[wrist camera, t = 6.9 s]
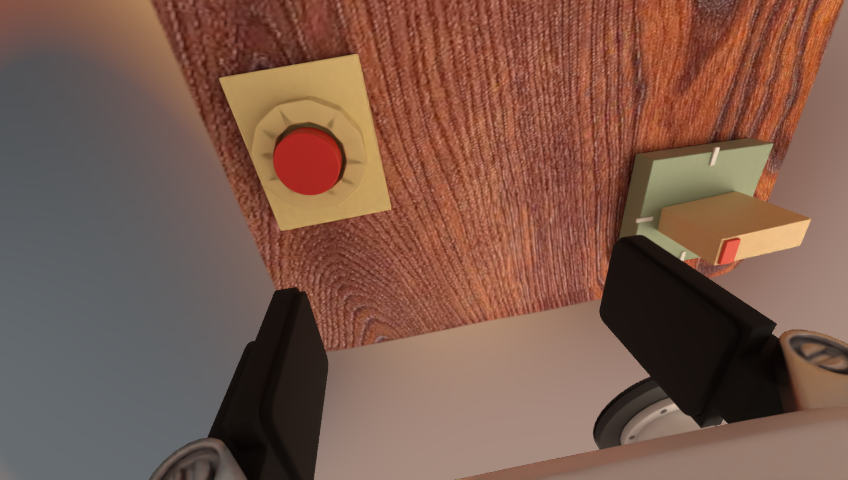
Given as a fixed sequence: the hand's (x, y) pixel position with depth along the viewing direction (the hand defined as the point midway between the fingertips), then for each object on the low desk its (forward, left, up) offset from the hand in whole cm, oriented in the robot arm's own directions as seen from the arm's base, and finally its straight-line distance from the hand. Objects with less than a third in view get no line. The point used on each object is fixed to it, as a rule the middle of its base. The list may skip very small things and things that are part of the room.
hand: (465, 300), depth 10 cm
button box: (-2, +6, -17) cm, 18 cm away
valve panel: (+8, -23, -17) cm, 30 cm away
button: (-2, +6, -13) cm, 15 cm away
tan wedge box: (+8, -23, -15) cm, 28 cm away
